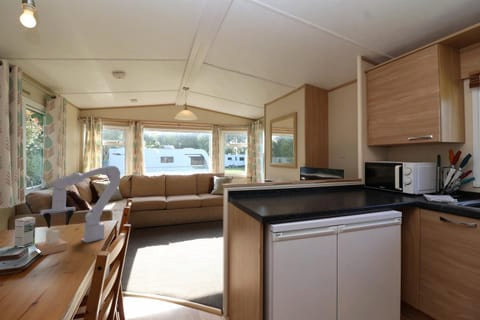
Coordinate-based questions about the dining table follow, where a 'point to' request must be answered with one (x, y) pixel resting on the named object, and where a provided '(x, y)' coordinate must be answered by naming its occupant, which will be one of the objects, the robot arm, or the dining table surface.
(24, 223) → the syrup box
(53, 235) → the white upright block
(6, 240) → the dining table surface
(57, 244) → the base block
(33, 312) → the dining table surface
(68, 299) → the dining table surface
